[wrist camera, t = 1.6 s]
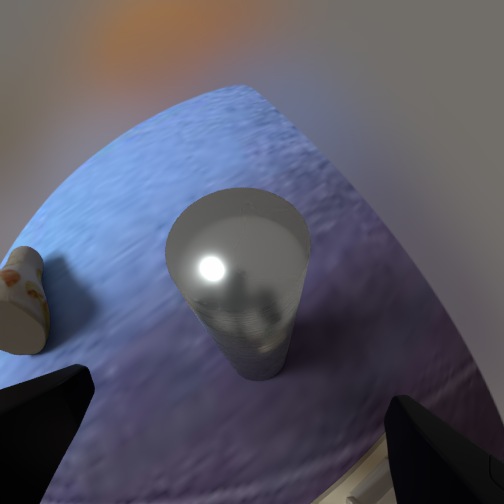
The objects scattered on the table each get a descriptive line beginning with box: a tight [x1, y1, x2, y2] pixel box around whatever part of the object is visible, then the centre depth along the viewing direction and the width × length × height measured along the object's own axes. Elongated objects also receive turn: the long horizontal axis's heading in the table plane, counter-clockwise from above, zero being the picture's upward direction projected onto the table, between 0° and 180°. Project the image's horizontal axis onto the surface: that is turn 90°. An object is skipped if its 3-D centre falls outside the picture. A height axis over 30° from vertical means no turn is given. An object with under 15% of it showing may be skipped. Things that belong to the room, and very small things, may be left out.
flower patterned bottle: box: [0, 246, 50, 355], centre depth 18 cm, size 8×10×10 cm
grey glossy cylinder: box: [165, 188, 311, 381], centre depth 13 cm, size 4×4×13 cm
